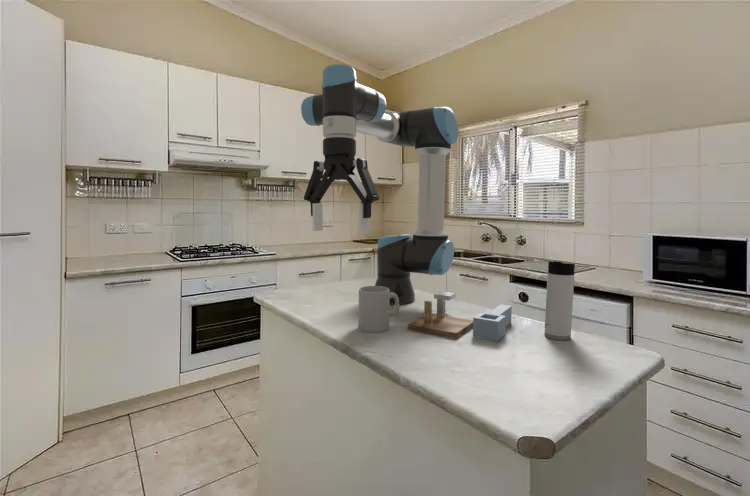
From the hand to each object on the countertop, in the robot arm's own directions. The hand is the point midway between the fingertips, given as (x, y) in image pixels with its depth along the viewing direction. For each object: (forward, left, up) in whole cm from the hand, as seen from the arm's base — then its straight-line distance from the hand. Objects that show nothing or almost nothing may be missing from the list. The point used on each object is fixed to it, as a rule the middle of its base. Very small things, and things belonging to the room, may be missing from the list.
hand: (339, 231), depth 96 cm
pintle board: (-28, +14, -27) cm, 41 cm away
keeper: (-31, +13, -26) cm, 42 cm away
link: (-34, +27, -27) cm, 51 cm away
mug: (-18, 0, -28) cm, 33 cm away
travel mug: (-37, +42, -28) cm, 63 cm away
